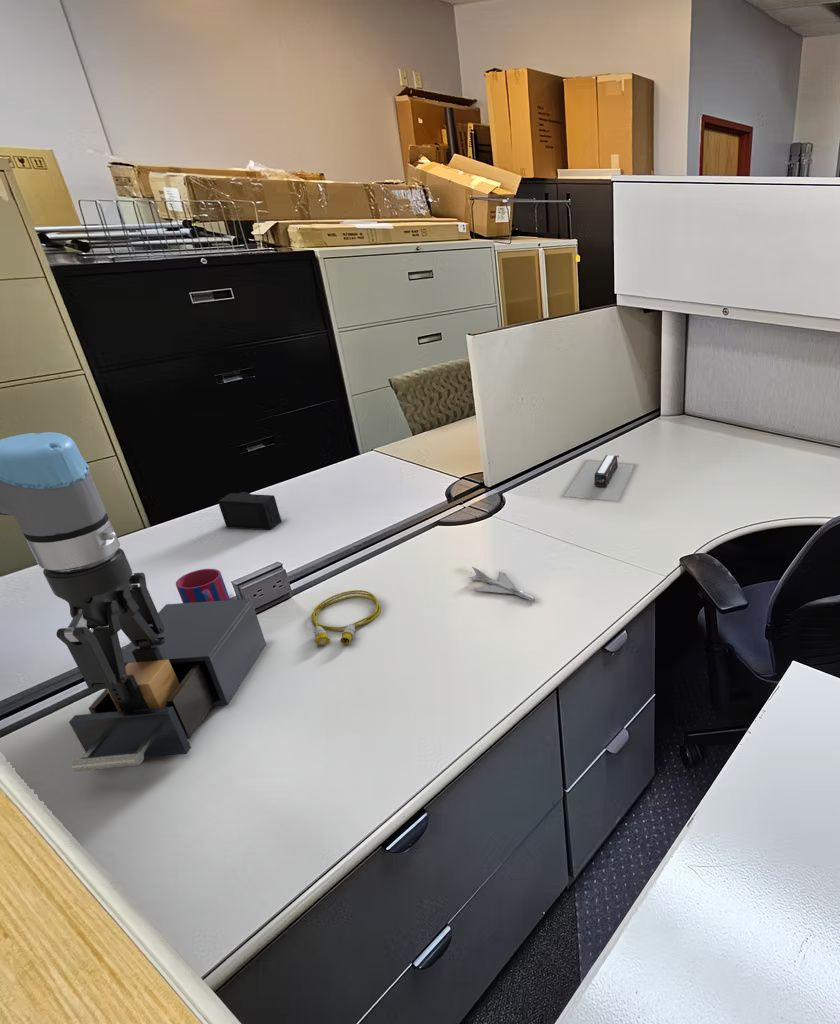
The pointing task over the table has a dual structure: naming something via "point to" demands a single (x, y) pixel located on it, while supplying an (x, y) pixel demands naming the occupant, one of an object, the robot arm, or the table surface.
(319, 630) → the extension cord
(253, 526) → the digital camera
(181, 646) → the cabinet
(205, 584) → the mug
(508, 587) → the toy airplane
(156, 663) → the block
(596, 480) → the bus
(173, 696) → the drawer
